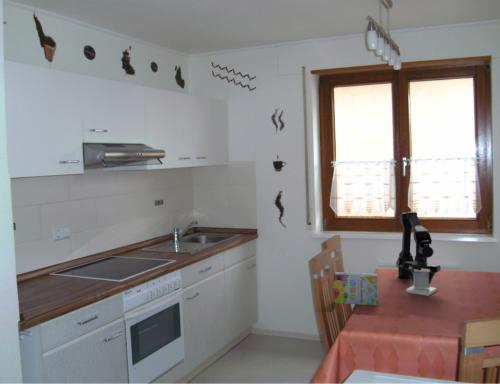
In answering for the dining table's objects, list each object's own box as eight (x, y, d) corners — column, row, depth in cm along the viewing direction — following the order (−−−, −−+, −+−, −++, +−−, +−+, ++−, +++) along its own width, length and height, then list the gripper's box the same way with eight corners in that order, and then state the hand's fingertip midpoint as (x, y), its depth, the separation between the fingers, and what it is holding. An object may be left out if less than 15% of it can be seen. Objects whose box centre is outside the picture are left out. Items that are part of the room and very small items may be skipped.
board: (406, 292, 275) (406, 289, 275) (414, 287, 284) (414, 284, 284) (428, 295, 267) (428, 292, 267) (436, 290, 277) (436, 287, 276)
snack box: (378, 303, 257) (378, 273, 256) (377, 306, 252) (377, 276, 251) (335, 300, 264) (335, 271, 263) (333, 303, 259) (333, 273, 258)
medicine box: (428, 286, 277) (428, 270, 277) (429, 288, 273) (430, 272, 272) (412, 285, 278) (412, 270, 278) (414, 288, 274) (414, 272, 273)
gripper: (398, 254, 274) (398, 283, 275) (433, 258, 262) (433, 288, 263) (406, 250, 282) (406, 278, 284) (441, 254, 271) (440, 283, 272)
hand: (421, 282), depth 275 cm, fingers closed on medicine box, 9 cm apart
